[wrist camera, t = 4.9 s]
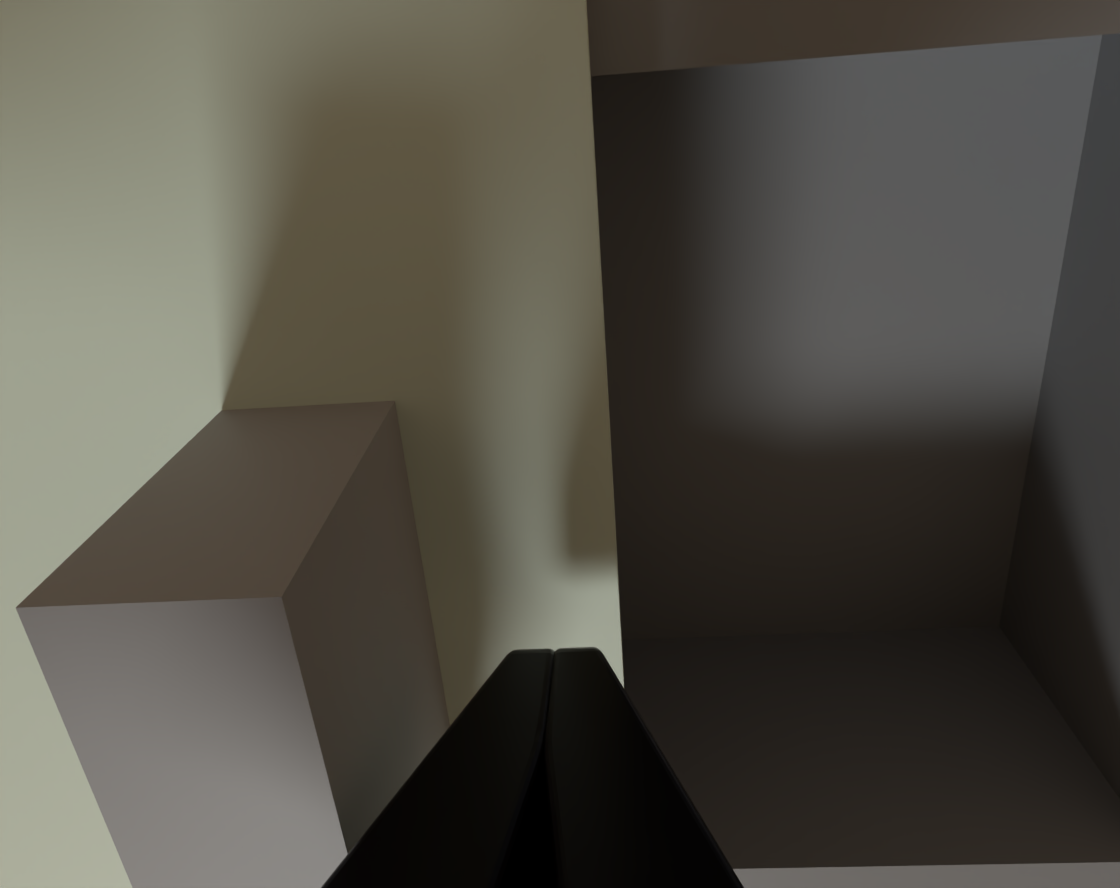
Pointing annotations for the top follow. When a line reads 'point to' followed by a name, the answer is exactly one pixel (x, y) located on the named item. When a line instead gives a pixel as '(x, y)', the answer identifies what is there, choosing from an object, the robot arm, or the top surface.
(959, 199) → the tray
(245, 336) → the sliding box lid
